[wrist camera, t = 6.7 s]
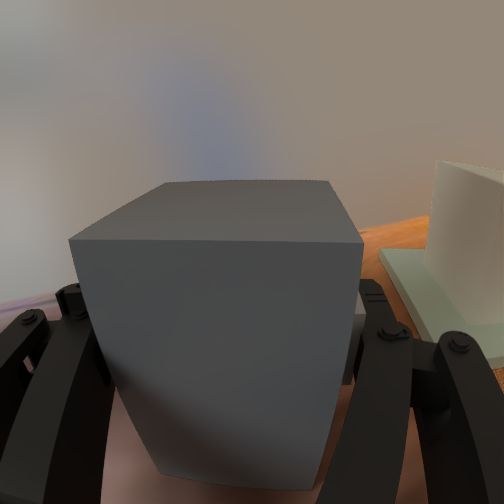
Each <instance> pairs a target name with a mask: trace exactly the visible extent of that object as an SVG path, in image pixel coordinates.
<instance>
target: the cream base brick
mask: <svg viewBox="0 0 504 504" xmlns="http://www.w3.org/2000/svg"><path fill="white" fill-rule="evenodd" d="M423 264H424V266H425V267H426V268H427V270H428V271H429V272H430V273H431V275H432V276H433V277H434V279H435V280H436V281H437V282H438V284H439V285H440V286H441V288H442V289H443V290H444V292H445V293H446V294H447V296H448V297H449V298H450V300H451V301H452V303H453V304H454V305H455V307H456V308H457V310H458V311H459V312H460V314H461V315H462V317H463V318H464V320H465V321H466V322H467V324H468V325H469V326H477V325H487V324H496V323H504V171H503V170H498V169H492V168H487V167H481V166H475V165H469V164H463V163H456V162H449V161H441V160H436V162H435V177H434V188H433V197H432V205H431V213H430V221H429V228H428V234H427V241H426V247H425V252H424V258H423Z"/></svg>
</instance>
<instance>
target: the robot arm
mask: <svg viewBox="0 0 504 504" xmlns="http://www.w3.org/2000/svg"><path fill="white" fill-rule="evenodd" d="M55 295H56V298H57V301H58V304H59V307H60V310H61V313H62V318H61V320H57V321H47V318H46V316H45V313H44V312H43V310H40V309H30V310H26V311H25V312H24V313H22V314H20V315H19V316H18V317H17V318H16V319H15V320H14V321H13V322H12V323H11V324H10V325H9V326H8V327H7V328H6V329H5V330H4V331H3V332H2V333H1V334H0V504H100V503H101V489H102V478H103V468H104V459H105V451H106V443H107V436H108V429H109V422H110V416H111V410H112V404H113V398H114V392H115V387H116V385H115V383H114V381H113V378H112V376H111V374H110V371H109V369H108V366H107V364H106V361H105V359H104V356H103V353H102V351H101V348H100V345H99V343H98V340H97V337H96V334H95V332H94V329H93V326H92V323H91V320H90V317H89V314H88V311H87V307H86V304H85V301H84V298H83V294H82V291H81V287H80V284H79V283H76V284H71V285H68V286H66V287H63V288H62V289H60V290H59V291H58V292H57V293H56V294H55ZM27 356H28V358H29V360H30V362H31V364H32V366H33V368H34V369H33V370H32V371H31V372H29V371H28V370H27V368H26V366H25V364H24V362H23V360H24V359H25V358H26V357H27ZM353 373H354V378H355V386H354V390H353V394H352V397H351V401H350V404H349V408H348V411H347V415H346V418H345V421H344V425H343V428H342V431H341V434H340V437H339V441H338V444H337V447H336V450H335V453H334V455H333V458H332V461H331V464H330V467H329V470H328V472H327V475H326V478H325V480H324V483H323V486H322V488H321V491H320V493H319V496H318V498H317V501H316V503H315V504H395V500H396V495H397V491H398V486H399V481H400V475H401V470H402V464H403V458H404V451H405V444H406V437H407V429H408V420H409V410H410V407H413V410H414V415H415V419H416V424H417V429H418V435H419V440H420V446H421V452H422V458H423V464H424V471H425V478H426V485H427V494H428V503H429V504H504V394H503V392H502V390H501V387H500V385H499V383H498V381H497V379H496V377H495V375H494V373H493V371H492V369H491V367H490V365H489V363H488V361H487V359H486V357H485V355H484V354H483V352H482V350H481V348H480V346H479V344H478V343H477V342H476V340H475V339H474V338H473V337H471V336H470V335H468V334H467V333H463V332H461V331H447V332H445V333H443V334H442V335H441V336H440V338H439V341H438V343H434V342H428V341H422V340H418V339H415V338H413V335H412V332H411V330H410V329H409V328H408V327H407V326H406V325H404V324H402V323H400V322H397V320H396V318H395V316H394V313H393V311H392V309H391V307H390V304H389V302H388V300H387V298H386V296H385V294H384V291H383V289H382V287H381V286H380V285H379V284H378V283H377V282H375V281H374V280H373V279H360V282H359V289H358V296H357V303H356V309H355V316H354V322H353V327H352V333H351V339H350V344H349V349H348V354H347V359H346V364H345V369H344V374H343V378H342V383H341V385H351V382H352V378H353Z"/></svg>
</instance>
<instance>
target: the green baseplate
mask: <svg viewBox="0 0 504 504" xmlns="http://www.w3.org/2000/svg"><path fill="white" fill-rule="evenodd" d="M424 252H425V249H394V248H380V253H379V259H380V261H381V263H382V264H383V266H384V268H385V270H386V272H387V273H388V275H389V277H390V279H391V281H392V282H393V284H394V286H395V288H396V290H397V292H398V294H399V295H400V297H401V299H402V301H403V303H404V305H405V307H406V309H407V311H408V313H409V315H410V317H411V319H412V321H413V323H414V325H415V327H416V329H417V331H418V333H419V335H420V337H421V339H422V341H428V342H434V343H438V341H439V338H440V336H441V335H442V334H443V333H445V332H447V331H461V332H463V333H467V334H468V335H470V336H471V337H473V338H474V339H475V340H476V342H477V343H478V344H479V346H480V348H481V350H482V352H483V354H484V355H485V357H486V359H487V361H488V363H489V365H490V367H491V369H492V370H493V369H498V368H503V367H504V323H496V324H487V325H477V326H469V325H468V324H467V322H466V321H465V320H464V318H463V317H462V315H461V314H460V312H459V311H458V310H457V308H456V307H455V305H454V304H453V303H452V301H451V300H450V298H449V297H448V296H447V294H446V293H445V292H444V290H443V289H442V288H441V286H440V285H439V284H438V282H437V281H436V280H435V279H434V277H433V276H432V275H431V273H430V272H429V271H428V270H427V268H426V267H425V266H424V264H423V258H424Z"/></svg>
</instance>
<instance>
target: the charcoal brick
mask: <svg viewBox="0 0 504 504" xmlns="http://www.w3.org/2000/svg"><path fill="white" fill-rule="evenodd" d="M69 244H70V249H71V253H72V257H73V261H74V265H75V269H76V273H77V277H78V280H79V284H80V287H81V291H82V294H83V298H84V301H85V304H86V307H87V311H88V314H89V317H90V320H91V323H92V326H93V329H94V332H95V334H96V337H97V340H98V343H99V345H100V348H101V351H102V353H103V356H104V359H105V361H106V364H107V366H108V369H109V371H110V374H111V376H112V378H113V381H114V383H115V385H116V388H117V390H118V392H119V395H120V397H121V399H122V401H123V403H124V405H125V408H126V410H127V412H128V414H129V416H130V418H131V420H132V422H133V424H134V426H135V428H136V430H137V432H138V434H139V436H140V438H141V440H142V442H143V443H144V445H145V447H146V449H147V451H148V453H149V454H150V456H151V458H152V460H153V462H154V463H155V465H156V467H157V468H158V470H159V472H160V473H161V474H165V475H169V476H174V477H179V478H184V479H189V480H195V481H200V482H206V483H213V484H220V485H227V486H236V487H246V488H257V489H273V490H312V488H313V485H314V482H315V479H316V476H317V472H318V469H319V466H320V463H321V459H322V456H323V453H324V449H325V446H326V442H327V439H328V435H329V432H330V428H331V424H332V420H333V416H334V412H335V408H336V404H337V400H338V396H339V392H340V387H341V383H342V378H343V374H344V369H345V364H346V359H347V354H348V349H349V344H350V339H351V333H352V327H353V322H354V316H355V309H356V303H357V296H358V289H359V282H360V275H361V267H362V259H363V250H364V242H363V240H362V238H361V236H360V235H359V233H358V231H357V229H356V228H355V226H354V224H353V222H352V220H351V219H350V217H349V216H348V213H347V212H346V210H345V208H344V207H343V205H342V203H341V201H340V200H339V198H338V197H337V195H336V193H335V191H334V190H333V188H332V186H331V185H330V183H329V182H328V181H316V180H315V181H313V180H312V181H311V180H226V181H225V180H224V181H223V180H221V181H191V182H170V183H164V184H162V185H160V186H158V187H157V188H155V189H153V190H151V191H149V192H147V193H146V194H144V195H142V196H140V197H139V198H137V199H135V200H133V201H131V202H129V203H128V204H126V205H124V206H122V207H121V208H119V209H117V210H116V211H114V212H112V213H110V214H109V215H107V216H105V217H104V218H102V219H100V220H99V221H97V222H95V223H94V224H92V225H91V226H89V227H87V228H86V229H84V230H83V231H81V232H79V233H78V234H76V235H75V236H73V237H72V238H70V239H69Z"/></svg>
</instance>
